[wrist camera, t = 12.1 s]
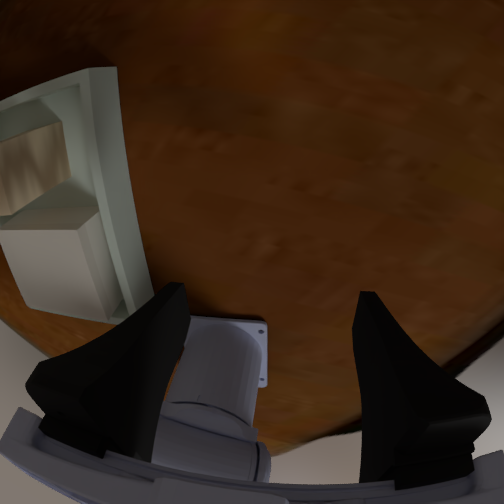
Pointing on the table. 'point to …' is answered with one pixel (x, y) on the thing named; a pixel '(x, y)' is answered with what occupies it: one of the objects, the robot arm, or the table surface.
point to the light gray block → (62, 261)
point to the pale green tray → (89, 167)
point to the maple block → (31, 166)
